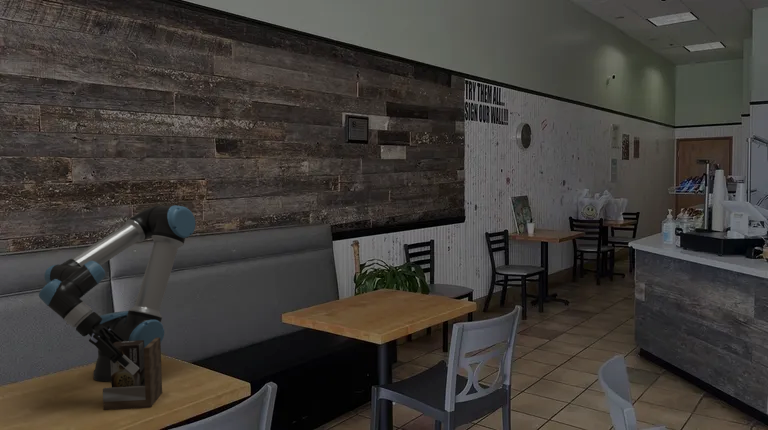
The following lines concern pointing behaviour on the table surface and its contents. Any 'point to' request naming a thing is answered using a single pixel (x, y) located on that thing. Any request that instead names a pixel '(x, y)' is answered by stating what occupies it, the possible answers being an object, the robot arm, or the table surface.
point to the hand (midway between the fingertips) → (139, 368)
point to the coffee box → (136, 355)
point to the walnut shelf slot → (139, 394)
